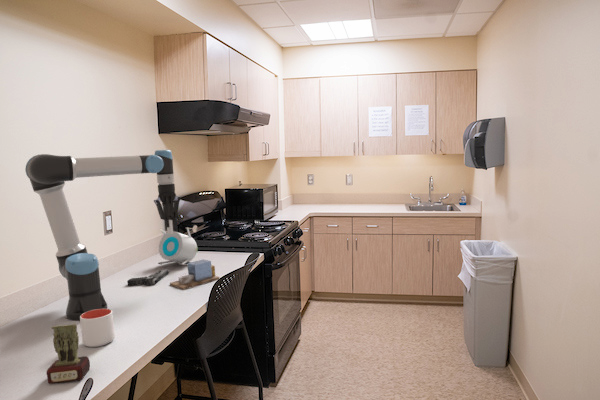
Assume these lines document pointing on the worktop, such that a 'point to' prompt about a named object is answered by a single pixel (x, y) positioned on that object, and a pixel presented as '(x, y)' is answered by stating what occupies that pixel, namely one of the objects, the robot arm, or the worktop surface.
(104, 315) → the cup
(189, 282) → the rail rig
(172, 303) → the worktop surface
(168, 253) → the satellite
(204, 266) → the slate grey block
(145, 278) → the handgun
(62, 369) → the sculpture
